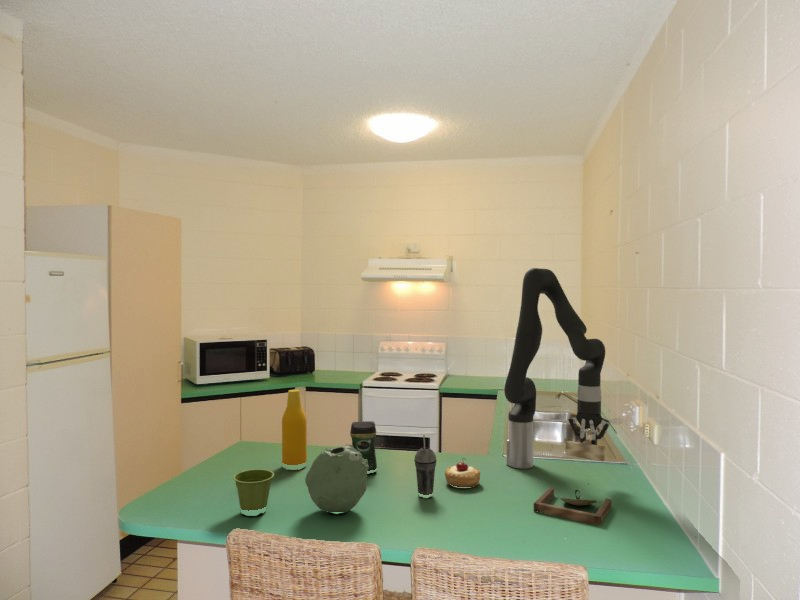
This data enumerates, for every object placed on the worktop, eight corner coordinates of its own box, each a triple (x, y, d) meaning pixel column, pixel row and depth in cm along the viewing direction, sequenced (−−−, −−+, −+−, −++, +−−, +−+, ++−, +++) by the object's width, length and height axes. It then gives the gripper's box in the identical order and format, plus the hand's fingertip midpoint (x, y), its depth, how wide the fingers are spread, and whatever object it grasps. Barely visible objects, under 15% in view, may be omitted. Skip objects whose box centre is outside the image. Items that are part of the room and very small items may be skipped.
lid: (562, 512, 162) (562, 495, 162) (558, 499, 171) (558, 484, 171) (599, 514, 160) (599, 497, 160) (593, 502, 170) (593, 486, 170)
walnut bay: (533, 511, 162) (533, 503, 162) (549, 495, 175) (549, 487, 175) (599, 525, 152) (599, 517, 152) (611, 507, 165) (611, 499, 165)
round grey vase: (306, 503, 169) (306, 439, 169) (367, 500, 171) (366, 437, 171) (304, 525, 153) (303, 454, 153) (370, 521, 156) (370, 451, 155)
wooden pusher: (565, 455, 181) (565, 442, 181) (576, 445, 191) (576, 433, 191) (603, 461, 174) (603, 448, 174) (611, 451, 184) (612, 438, 184)
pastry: (441, 489, 182) (440, 463, 182) (450, 477, 193) (449, 452, 193) (476, 492, 178) (475, 466, 178) (483, 480, 189) (482, 455, 189)
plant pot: (239, 524, 154) (239, 484, 154) (228, 510, 164) (228, 473, 164) (279, 515, 160) (279, 477, 160) (267, 502, 170) (266, 466, 170)
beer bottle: (287, 462, 210) (286, 388, 210) (310, 463, 209) (309, 388, 208) (278, 470, 201) (277, 392, 201) (302, 471, 200) (302, 393, 199)
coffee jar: (376, 468, 203) (376, 418, 203) (377, 475, 195) (377, 424, 195) (350, 469, 202) (350, 419, 202) (350, 476, 194) (349, 424, 194)
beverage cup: (440, 493, 177) (439, 432, 177) (431, 501, 170) (431, 438, 170) (419, 490, 180) (419, 430, 180) (410, 498, 173) (410, 435, 173)
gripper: (565, 397, 182) (564, 449, 183) (608, 402, 175) (607, 456, 175) (571, 394, 189) (571, 443, 189) (613, 399, 181) (613, 450, 181)
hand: (588, 449), depth 182 cm, fingers closed on wooden pusher, 2 cm apart
